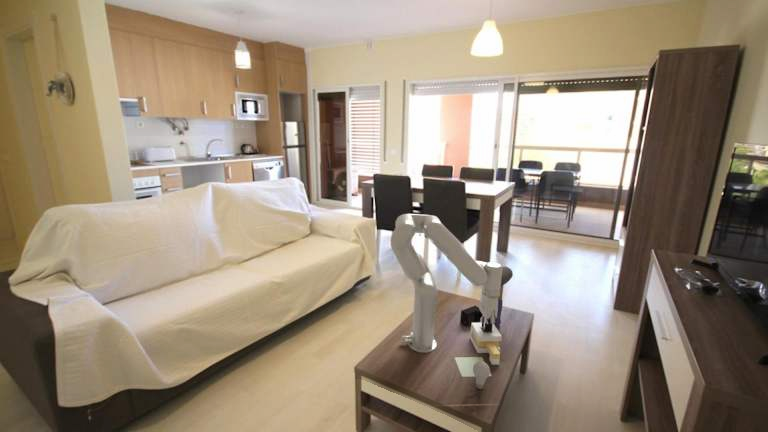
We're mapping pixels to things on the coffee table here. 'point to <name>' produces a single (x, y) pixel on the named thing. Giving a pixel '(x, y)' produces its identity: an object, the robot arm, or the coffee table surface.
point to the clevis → (486, 341)
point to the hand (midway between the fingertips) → (486, 328)
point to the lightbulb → (481, 373)
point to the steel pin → (484, 325)
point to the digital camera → (470, 315)
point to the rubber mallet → (505, 278)
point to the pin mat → (467, 365)
